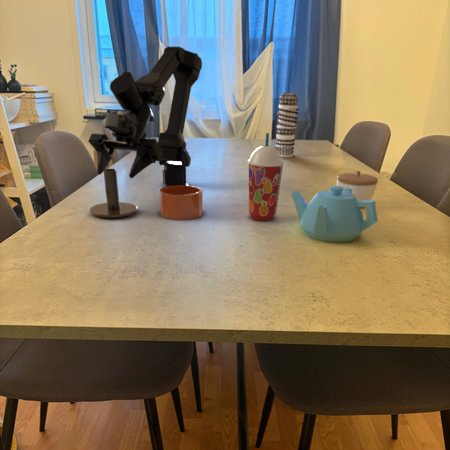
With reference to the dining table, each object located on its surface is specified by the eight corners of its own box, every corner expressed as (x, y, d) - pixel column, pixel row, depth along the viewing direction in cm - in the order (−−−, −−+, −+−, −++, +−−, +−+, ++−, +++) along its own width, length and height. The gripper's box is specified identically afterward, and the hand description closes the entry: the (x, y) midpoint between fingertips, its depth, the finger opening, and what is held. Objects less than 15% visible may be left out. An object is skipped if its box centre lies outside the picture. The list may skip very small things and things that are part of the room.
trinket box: (346, 198, 128) (351, 165, 124) (379, 205, 121) (386, 171, 117) (326, 204, 121) (330, 170, 117) (360, 212, 115) (366, 177, 110)
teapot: (311, 247, 91) (318, 197, 86) (286, 225, 104) (291, 179, 99) (376, 243, 94) (386, 194, 89) (344, 222, 107) (351, 178, 102)
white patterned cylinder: (295, 157, 188) (302, 94, 176) (274, 156, 188) (279, 93, 176) (293, 154, 196) (298, 93, 184) (272, 153, 196) (277, 92, 184)
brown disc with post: (131, 205, 116) (128, 164, 111) (142, 217, 107) (139, 173, 102) (87, 208, 112) (81, 166, 107) (94, 221, 103) (88, 176, 98)
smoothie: (281, 215, 111) (289, 132, 102) (274, 224, 104) (281, 136, 95) (250, 211, 114) (255, 130, 104) (241, 220, 107) (245, 134, 97)
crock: (194, 206, 117) (193, 183, 114) (208, 217, 108) (208, 193, 105) (155, 209, 113) (154, 186, 110) (167, 221, 104) (166, 196, 101)
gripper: (88, 98, 106) (64, 151, 102) (155, 101, 100) (132, 158, 96) (110, 129, 116) (89, 178, 112) (171, 134, 110) (152, 186, 106)
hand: (114, 175), depth 106 cm, fingers open, 9 cm apart
